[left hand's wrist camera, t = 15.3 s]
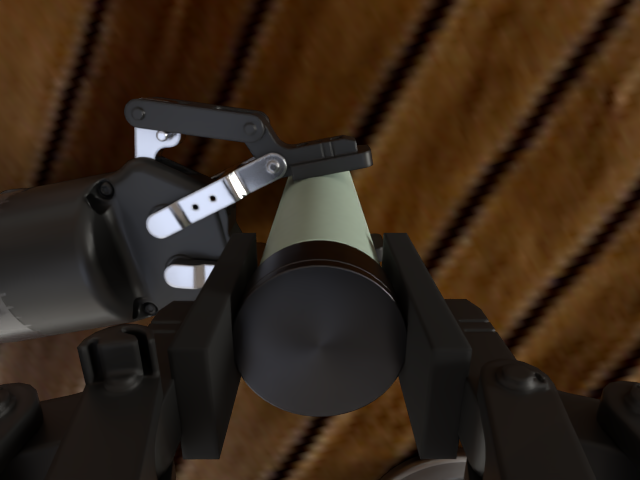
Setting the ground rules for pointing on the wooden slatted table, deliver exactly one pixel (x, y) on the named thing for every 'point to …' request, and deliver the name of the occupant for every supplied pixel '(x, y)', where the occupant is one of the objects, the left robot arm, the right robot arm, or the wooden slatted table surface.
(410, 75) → the wooden slatted table surface
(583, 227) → the wooden slatted table surface
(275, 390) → the lid
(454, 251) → the wooden slatted table surface
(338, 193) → the pale green cylinder
